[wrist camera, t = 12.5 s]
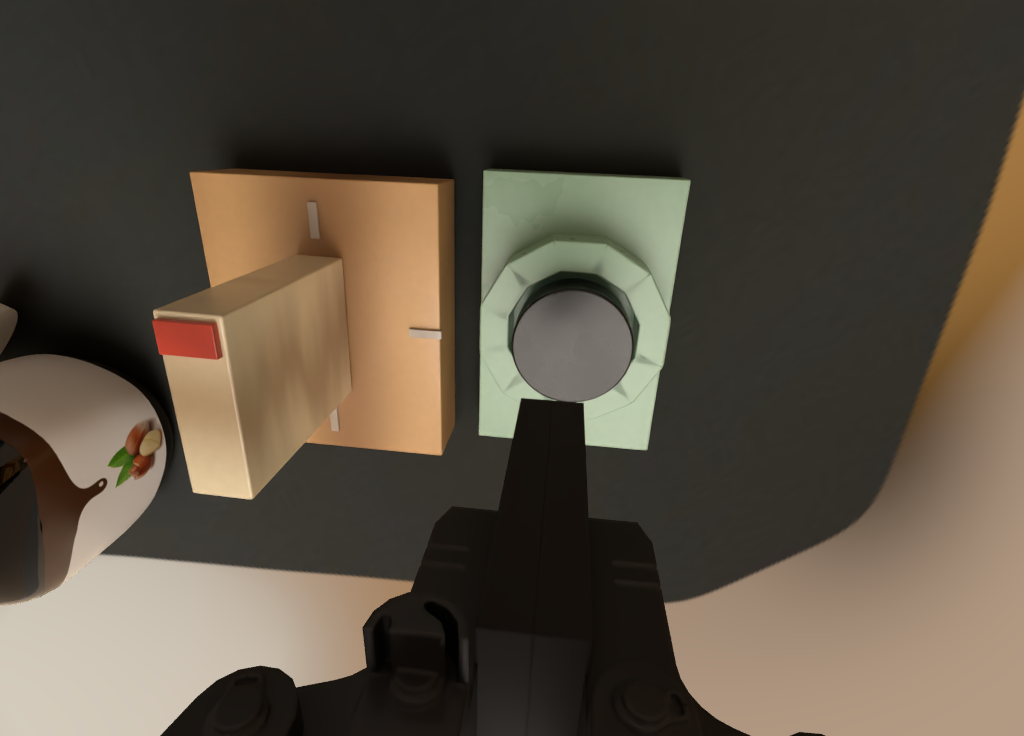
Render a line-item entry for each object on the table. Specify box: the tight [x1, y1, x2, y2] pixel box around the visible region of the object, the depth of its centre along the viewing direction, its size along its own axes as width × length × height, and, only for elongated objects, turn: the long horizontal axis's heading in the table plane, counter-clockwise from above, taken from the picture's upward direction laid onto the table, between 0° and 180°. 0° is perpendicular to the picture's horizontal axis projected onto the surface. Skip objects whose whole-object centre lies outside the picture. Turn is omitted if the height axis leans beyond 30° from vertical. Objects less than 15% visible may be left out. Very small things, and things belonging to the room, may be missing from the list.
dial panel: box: [190, 169, 455, 455], centre depth 24 cm, size 10×12×3 cm
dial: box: [152, 255, 352, 499], centre depth 19 cm, size 6×2×8 cm, turn 178°
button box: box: [479, 169, 691, 450], centre depth 23 cm, size 12×8×4 cm, turn 179°
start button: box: [511, 278, 634, 402], centre depth 21 cm, size 5×5×2 cm
